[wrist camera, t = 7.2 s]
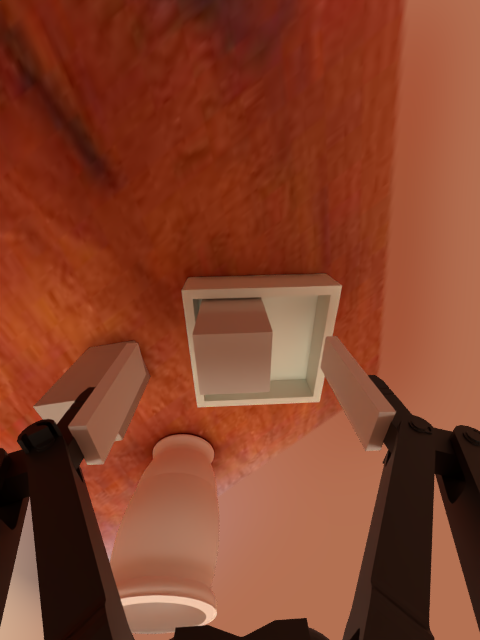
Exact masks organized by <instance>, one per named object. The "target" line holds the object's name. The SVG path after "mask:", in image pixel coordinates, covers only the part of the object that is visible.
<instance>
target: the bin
mask: <svg viewBox="0 0 480 640" xmlns="http://www.w3.org/2000/svg"><path fill="white" fill-rule="evenodd" d="M341 289H342V285H341V284H339V283H338V282H337V281H335V280H334V279H333V278H331V277H330V276H329V275H328V274H290V275H253V276H215V277H188V278H187V280H186V282H185V284H184V286H183V288H182V290H181V291H182V299H183V306H184V313H185V320H186V328H187V335H188V342H189V350H190V357H191V364H192V372H193V379H194V386H195V393H196V401H197V407H215V406H238V405H261V404H284V403H307V402H320V397H321V392H322V387H323V382H324V377H325V375H324V373H323V372H322V370H321V368H320V366H321V361H322V355H323V349H324V344H325V338H326V336H332V335H333V330H334V325H335V320H336V315H337V310H338V304H339V299H340V294H341ZM250 297H261V298H262V301H263V304H264V307H265V310H266V313H267V316H268V319H269V322H270V325H271V328H272V331H273V338H272V356H271V374H270V391H269V392H258V393H235V394H211V395H200V391H199V384H198V376H197V368H196V360H195V352H194V344H193V336H192V334H193V331H194V327H195V323H196V320H197V316H198V312H199V309H200V305H201V301H202V299H216V298H250Z"/></svg>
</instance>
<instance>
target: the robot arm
mask: <svg viewBox="0 0 480 640" xmlns="http://www.w3.org/2000/svg"><path fill="white" fill-rule="evenodd" d="M320 368H321V370H322V372H323V373H324V375H325V377H326V379H327V381H328V383H329V385H330V386H331V388H332V390H333V392H334V394H335V396H336V397H337V399H338V401H339V403H340V405H341V407H342V408H343V410H344V412H345V414H346V416H347V418H348V419H349V421H350V423H351V425H352V427H353V429H354V430H355V432H356V434H357V436H358V438H359V440H360V442H361V443H362V445H363V447H364V449H365V451H373V450H381V447H382V445H383V443H384V444H385V445H386V447H387V448H388V452H387V454H386V456H385V459H384V461H383V464H384V468H383V472H382V477H381V481H380V485H379V490H378V494H377V499H376V503H375V507H374V512H373V517H372V521H371V525H370V530H369V534H368V539H367V543H366V548H365V552H364V556H363V561H362V565H361V570H360V574H359V579H358V583H357V587H356V592H355V596H354V601H353V605H352V609H351V613H350V616H349V619H348V622H347V625H346V628H345V632H344V636H343V640H434V636H433V635H432V633H431V631H430V628H429V607H430V580H431V579H430V578H431V551H432V550H431V549H432V525H433V523H432V522H433V499H434V474H435V475H436V478H437V482H438V485H439V489H440V493H441V496H442V500H443V503H444V507H445V510H446V514H447V517H448V521H449V524H450V528H451V532H452V535H453V539H454V542H455V545H456V549H457V553H458V556H459V560H460V564H461V567H462V571H463V574H464V577H465V581H466V585H467V588H468V592H469V595H470V599H471V603H472V606H473V610H474V613H475V617H476V620H477V624H478V627H479V631H480V431H478V430H476V429H474V428H471V427H469V426H463V425H460V426H456V427H455V429H454V430H453V432H451V431H446V430H442V429H437V428H433V427H432V426H431V424H429V423H428V422H427V421H426V420H424V419H422V418H420V417H417V416H414V415H412V414H411V413H410V412H409V411H408V409H406V407H405V406H404V405H403V404H402V402H401V401H400V400H399V399H398V398H397V397H396V395H394V393H393V392H392V391H391V389H389V387H388V386H387V385H386V384H385V382H384V381H383V380H381V379H380V378H378V377H377V376H375V375H367V374H366V373H365V372H364V370H363V369H362V368H361V366H360V365H359V364H358V363H357V361H356V360H355V359H354V358H353V356H352V355H351V354H350V353H349V351H348V350H347V349H346V347H345V346H344V345H343V344H342V342H341V341H340V340H339V339H338V337H337V336H326V338H325V344H324V349H323V355H322V361H321V366H320ZM145 376H146V372H145V368H144V364H143V360H142V356H141V352H140V348H139V344H138V343H127V344H126V345H125V347H124V348H123V350H122V351H121V352H120V354H119V355H118V357H117V358H116V359H115V361H114V362H113V364H112V365H111V366H110V368H109V369H108V371H107V372H106V374H105V375H104V376H103V378H102V379H101V381H100V382H99V383H98V385H97V386H96V387H88V388H87V389H86V390H85V391H83V392H82V393H81V394H80V395H79V396H78V397H77V399H76V400H75V401H74V403H73V404H72V405H71V407H70V409H68V410H67V412H66V413H65V414H64V416H63V417H62V418H61V420H60V421H59V422H58V423H57V424H56V422H55V421H54V420H52V419H44V420H40V421H38V422H35V423H33V424H32V425H30V426H28V427H27V428H26V429H25V430H23V431H22V432H21V434H20V435H19V436H18V440H17V442H18V444H19V445H20V447H21V448H22V450H19V451H16V452H12V453H9V454H7V453H6V451H5V450H4V449H3V448H0V625H1V621H2V616H3V612H4V608H5V603H6V599H7V594H8V590H9V585H10V580H11V577H12V572H13V568H14V563H15V559H16V555H17V550H18V546H19V541H20V536H21V532H22V528H23V523H24V519H25V515H26V510H27V506H28V502H29V497H30V502H31V511H32V521H33V532H34V541H35V551H36V561H37V570H38V581H39V591H40V601H41V610H42V621H43V631H44V640H134V637H133V635H132V633H131V630H130V628H129V625H128V622H127V619H126V615H125V612H124V609H123V605H122V602H121V599H120V596H119V592H118V589H117V586H116V582H115V579H114V576H113V573H112V569H111V566H110V563H109V559H108V556H107V553H106V549H105V546H104V543H103V540H102V536H101V533H100V530H99V526H98V523H97V520H96V516H95V513H94V510H93V507H92V503H91V500H90V497H89V493H88V490H87V487H86V484H85V480H84V477H83V474H82V470H81V468H80V466H79V465H80V463H81V462H82V460H83V458H84V459H85V461H86V463H87V465H95V464H104V462H105V460H106V458H107V456H108V454H109V451H110V449H111V447H112V445H113V443H114V441H115V439H116V437H117V435H118V433H119V430H120V428H121V426H122V424H123V422H124V420H125V418H126V416H127V414H128V411H129V409H130V407H131V405H132V403H133V401H134V399H135V397H136V395H137V392H138V390H139V388H140V386H141V384H142V382H143V380H144V378H145ZM170 640H329V639H328V638H327V637H325V636H324V635H323V634H321V633H319V632H317V631H316V630H314V629H311V628H309V627H308V623H307V618H301V619H287V620H275V621H273V622H271V623H269V624H267V625H265V626H263V627H262V628H259V629H257V630H256V631H254V632H252V633H250V634H248V635H246V636H244V637H239V636H236V635H233V634H230V633H228V632H225V631H222V630H220V629H217V628H214V627H211V626H209V625H203V626H189V627H175V635H174V637H173V638H172V639H170Z"/></svg>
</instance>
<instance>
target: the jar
mask: <svg viewBox="0 0 480 640" xmlns="http://www.w3.org/2000/svg"><path fill="white" fill-rule="evenodd" d="M213 459H214V450H213V448H212V446H211V445H210V444H209V443H208V442H207V441H206V440H204V439H202V438H200V437H197V436H194V435H188V434H177V435H172V436H168V437H166V438H164V439H162V440H160V441H159V442H158V443H157V444H156V445H155V447H154V449H153V460H152V461H151V463H150V464H149V465H148V467H147V468H146V470H145V471H144V473H143V475H142V477H141V479H140V481H139V483H138V485H137V488H136V490H135V492H134V494H133V495H132V497H131V499H130V502H129V504H128V506H127V508H126V510H125V513H124V515H123V518H122V520H121V523H120V526H119V529H118V532H117V536H116V539H115V543H114V547H113V551H112V555H111V560H110V566H111V569H112V573H113V576H114V579H115V582H116V586H117V589H118V592H119V596H120V599H121V602H122V605H123V609H124V612H125V615H126V619H127V622H128V625H129V628H130V630H131V633H139V634H160V633H172V632H175V627H189V626H203V625H205V624H207V623H209V622H211V621H212V620H213V619H214V618H215V617H216V615H217V611H216V608H217V600H216V596H215V594H214V593H213V591H212V590H211V585H212V581H213V577H214V573H215V568H216V562H217V555H218V545H219V507H218V499H217V487H216V479H215V474H214V471H213V468H212V465H211V463H212V461H213Z"/></svg>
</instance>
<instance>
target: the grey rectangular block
mask: <svg viewBox="0 0 480 640" xmlns="http://www.w3.org/2000/svg"><path fill="white" fill-rule="evenodd" d="M127 343H136V342H135V340H134V341H127V342H121V343H115V344H108V345H102V346H96V347H89V348H88V349H87V350H86V351H85V352H84V353H83V354H82V356H81V357H80V358H79V359H78V360H77V361H76V362H75V363H74V364H73V365H72V366H71V367H70V368H69V369H68V370H67V371H66V372H65V373H64V375H63V376H62V377H61V378H60V379H59V380H58V381H57V382H56V383H55V384H54V385H53V386H52V387H51V388H50V389H49V390H48V391H47V393H46V394H45V395H44V396H43V397H42V398H41V399H40V400H39V401H38V402H37V403H36V404H35V405H34V406H33V407H34V409H35V410H36V411H37V412H38V414H39V415H40V416H41V417H42V419H43V420H44V419H52V420H54V421H55V422H56V424H57V423H58V422H59V421H60V420H61V418H62V417H63V416H64V414H65V413H66V412H67V410H68V409H70V407H71V405H72V404H73V403H74V401H75V400H76V399H77V397H78V396H79V395H80V394H81V393H82V392H83V391H85V390H86V389H87V388H88V387H96V386H97V385H98V383H99V382H100V381H101V379H102V378H103V376H104V375H105V374H106V372H107V371H108V369H109V368H110V366H111V365H112V364H113V362H114V361H115V359H116V358H117V357H118V355H119V354H120V352H121V351H122V350H123V348H124V347H125V345H126V344H127ZM142 360H143V358H142ZM143 364H144V368H145V372H146V376H145V378H144V380H143V382H142V384H141V386H140V388H139V390H138V392H137V395H136V397H135V399H134V401H133V403H132V405H131V407H130V409H129V411H128V414H127V416H126V418H125V420H124V422H123V424H122V426H121V428H120V430H119V433H118V435H117V437H116V439H115V441H118V440H123V437H124V435H125V433H126V431H127V428H128V426H129V424H130V422H131V419H132V417H133V415H134V413H135V410H136V408H137V406H138V404H139V401H140V399H141V397H142V395H143V392H144V390H145V388H146V385H147V383H148V381H149V379H150V374H149V372H148V370H147V367H146V365H145V363H144V360H143Z"/></svg>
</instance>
